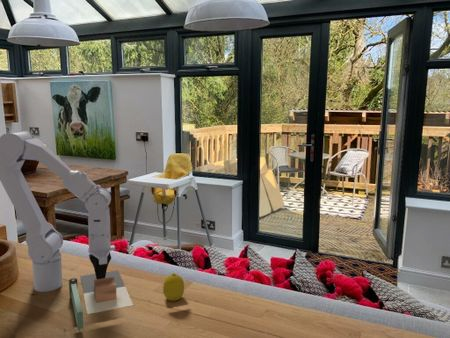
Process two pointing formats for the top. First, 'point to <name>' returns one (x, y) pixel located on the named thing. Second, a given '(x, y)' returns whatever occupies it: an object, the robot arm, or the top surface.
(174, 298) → the lemon
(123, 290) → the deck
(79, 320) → the bar
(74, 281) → the gate post
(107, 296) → the block
